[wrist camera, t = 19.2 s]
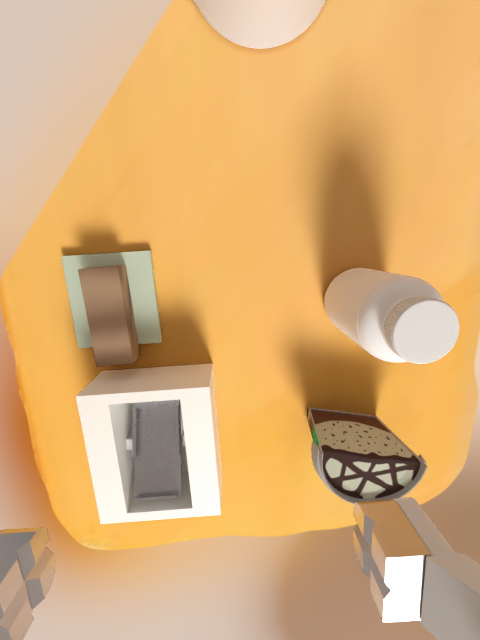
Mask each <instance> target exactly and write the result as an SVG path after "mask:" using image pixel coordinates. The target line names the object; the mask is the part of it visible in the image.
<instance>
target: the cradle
mask: <svg viewBox="0 0 480 640" xmlns="http://www.w3.org/2000/svg"><path fill="white" fill-rule="evenodd" d="M181 442H182V436H181V414H180V400H166V401H152V402H138V403H135V408H133V441H132V458H135V460H134V499H135V501H146V500H159V499H173V498H177V496H179V495H182V458H181Z"/></svg>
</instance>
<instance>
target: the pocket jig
mask: <svg viewBox="0 0 480 640" xmlns="http://www.w3.org/2000/svg"><path fill="white" fill-rule="evenodd" d="M76 399H77V405H78V410H79V415H80V420H81V425H82V430H83V435H84V440H85V445H86V451H87V456H88V461H89V466H90V471H91V476H92V481H93V486H94V492H95V497H96V502H97V507H98V512H99V517H100V522H101V524H108V523H121V522H134V521H147V520H160V519H173V518H186V517H199V516H212V515H221V499H222V463H221V452H220V440H219V429H218V417H217V405H216V394H215V382H214V371H213V363H209V364H194V365H180V366H166V367H151V368H137V369H123V370H108V371H102V372H101V373H100V374H98V375H97V376H96V377H95V378H94V379H93V380H92V381H91V382H90V383H89V384H88V385H87V386H86V387H85V388H84V389H83V390H82V391H81V392H80V393H79V394H78V395H77V396H76ZM166 400H180V414H181V436H182V442H181V458H182V495H179V496H177V498H173V499H159V500H146V501H135V499H134V460H135V458H132V441H133V408H135V403H138V402H152V401H166Z"/></svg>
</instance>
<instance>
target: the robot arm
mask: <svg viewBox="0 0 480 640" xmlns="http://www.w3.org/2000/svg"><path fill="white" fill-rule="evenodd" d="M193 1H194V3H195V4H196V5H197V7H198V9H199V10H200V12H201V13H202V15H203V16H204V18H205V19H206V20H207V22H208V23H209V24H210V25H211V26H212V27H213V28H214V29H215V30H216V31H217V32H218V33H219V34H221V35H222V36H223V37H225V38H226V39H228V40H230V41H232V42H234V43H236V44H238V45H241V46H244V47H248V48H256V49H266V48H273V47H277V46H280V45H283V44H285V43H288V42H290V41H291V40H293V39H295V38H296V37H298V36H299V35H300V34H302V33H303V32H304V31H305V30H306V29H307V28H308V27H309V26H310V25H311V24H312V22H313V21H314V20H315V19H316V17H317V16H318V14H319V13H320V11H321V9H322V7H323V5H324V4H325V2H326V0H193ZM353 515H354V517H355V519H356V522H357V524H356V526H355V527H354V528H353V541H354V546H355V552H356V556H357V559H358V562H359V565H360V567H361V570H362V572H363V573H364V574H365V575H367V576H368V577H369V578H370V592H371V594H372V597H373V599H374V601H375V604H376V606H377V609H378V611H379V613H380V616H381V618H382V620H383V622H394V621H414V620H421V624H422V625H423V626H424V627H425V628H427V630H428V631H429V632H430V633H431V634H432V635H433V636H434V637H435V638H436V639H437V640H480V564H478V563H476V562H475V561H473V560H472V559H470V558H469V557H467V556H465V555H464V554H462V553H457V554H456V553H455V552H454V551H453V550H452V548H451V547H450V545H449V544H448V543H447V541H446V540H445V539H444V537H443V536H442V535H441V533H440V532H439V531H438V529H437V528H436V527H435V525H434V524H433V523H432V521H431V520H430V519H429V517H428V516H427V515H426V513H425V512H424V511H423V509H422V508H421V507H420V505H419V504H418V503H417V501H416V500H415V499H413V498H412V497H408V498H397V499H392V500H391V499H387V500H376V501H365V502H355V504H354V512H353ZM49 540H50V537H49V533H48V530H47V529H46V528H23V529H5V530H0V640H23V638H24V636H25V635H26V633H27V631H28V629H29V627H30V625H31V623H32V621H33V619H34V618H33V608H35V607H36V606H37V605H38V604H39V603H40V602H41V601H42V600H43V599H44V598H45V597H46V595H47V593H48V591H49V589H50V587H51V584H52V580H53V577H54V573H55V557H54V553H53V552H52V551H51V550H49V549H48V548H47V547H46V545H47V544H48V542H49Z"/></svg>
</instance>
